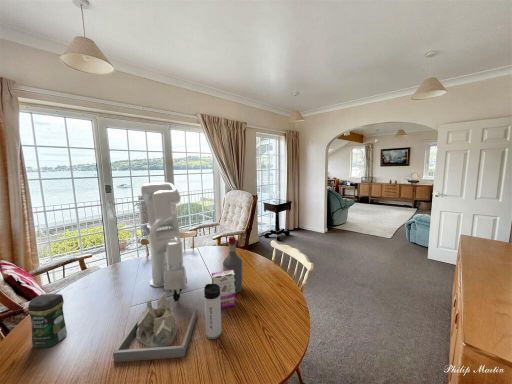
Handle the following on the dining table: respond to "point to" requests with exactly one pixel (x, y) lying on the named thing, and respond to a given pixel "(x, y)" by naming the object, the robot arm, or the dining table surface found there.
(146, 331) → the ceramic cottage
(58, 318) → the coffee jar
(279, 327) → the dining table surface
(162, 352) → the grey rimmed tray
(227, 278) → the candy bar box
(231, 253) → the liquor
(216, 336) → the travel mug
